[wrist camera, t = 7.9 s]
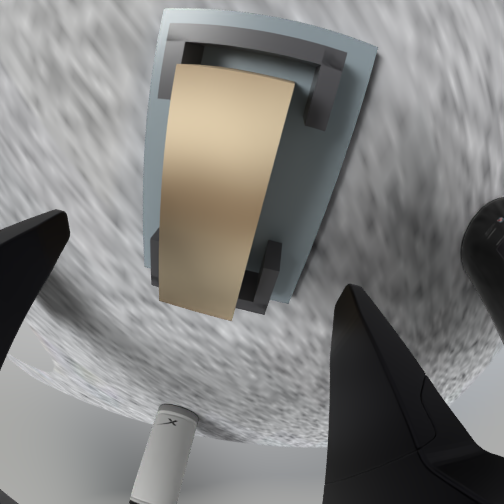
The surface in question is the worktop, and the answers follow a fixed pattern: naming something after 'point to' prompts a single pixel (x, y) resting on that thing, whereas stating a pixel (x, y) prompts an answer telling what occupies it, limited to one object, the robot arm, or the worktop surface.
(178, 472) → the travel mug
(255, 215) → the slat
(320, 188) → the board
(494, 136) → the worktop surface
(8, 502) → the robot arm
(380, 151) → the worktop surface
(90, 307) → the worktop surface
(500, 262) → the supplement bottle
